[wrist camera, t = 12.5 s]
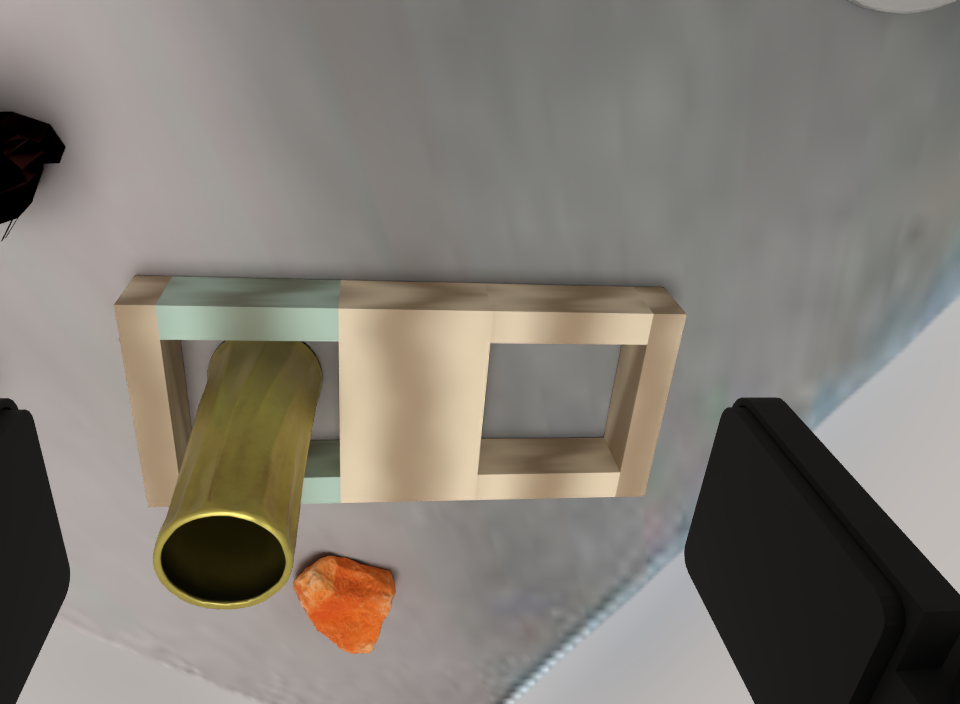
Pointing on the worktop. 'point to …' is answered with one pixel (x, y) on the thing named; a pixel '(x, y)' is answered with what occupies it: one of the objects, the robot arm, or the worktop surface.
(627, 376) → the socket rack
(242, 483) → the vase
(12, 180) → the cat figurine
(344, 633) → the rock
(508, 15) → the worktop surface
